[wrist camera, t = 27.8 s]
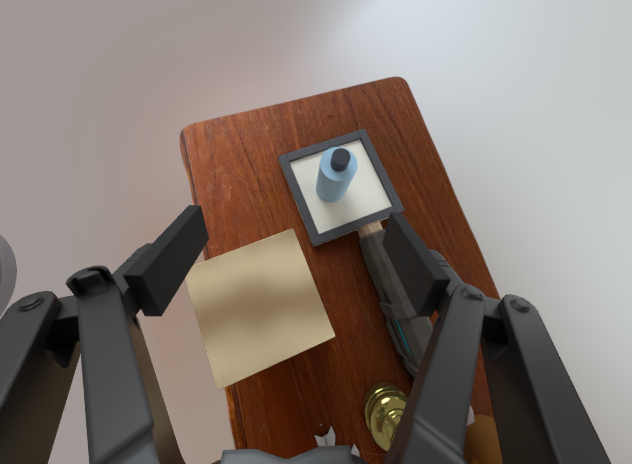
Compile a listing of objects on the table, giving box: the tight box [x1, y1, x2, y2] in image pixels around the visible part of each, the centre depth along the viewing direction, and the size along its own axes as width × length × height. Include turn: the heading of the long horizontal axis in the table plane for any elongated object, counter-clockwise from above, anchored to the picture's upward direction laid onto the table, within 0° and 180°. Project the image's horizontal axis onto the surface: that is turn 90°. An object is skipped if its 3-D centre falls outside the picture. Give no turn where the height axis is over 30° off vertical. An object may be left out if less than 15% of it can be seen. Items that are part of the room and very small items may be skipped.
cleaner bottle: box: [316, 147, 358, 202], centre depth 36 cm, size 6×6×11 cm
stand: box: [185, 228, 335, 390], centre depth 31 cm, size 12×12×16 cm
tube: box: [357, 220, 474, 426], centre depth 36 cm, size 11×7×30 cm
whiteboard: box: [278, 129, 404, 247], centre depth 42 cm, size 18×18×2 cm
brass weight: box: [363, 382, 408, 452], centre depth 31 cm, size 7×7×10 cm
